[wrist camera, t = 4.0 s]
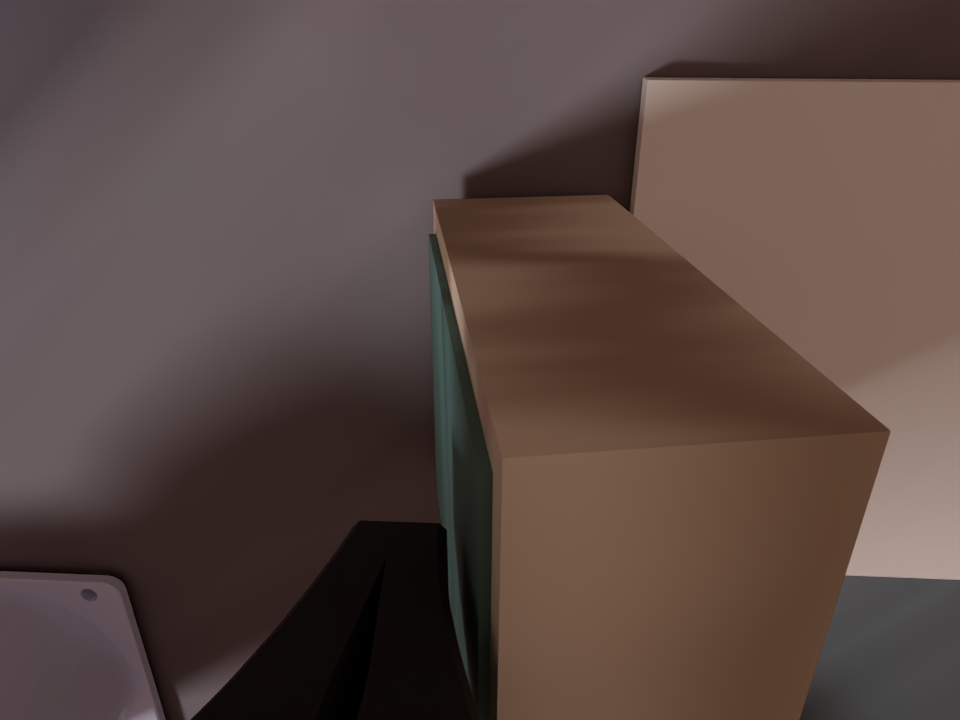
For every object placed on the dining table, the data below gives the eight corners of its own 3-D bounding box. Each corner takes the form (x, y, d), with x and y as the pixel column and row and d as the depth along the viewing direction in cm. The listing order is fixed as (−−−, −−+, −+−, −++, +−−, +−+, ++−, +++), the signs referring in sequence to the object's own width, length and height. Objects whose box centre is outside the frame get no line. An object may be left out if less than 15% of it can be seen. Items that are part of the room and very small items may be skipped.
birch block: (435, 491, 19) (482, 911, 10) (426, 199, 16) (487, 459, 7) (583, 480, 20) (751, 872, 11) (608, 195, 16) (890, 431, 7)
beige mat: (595, 551, 21) (597, 565, 20) (643, 77, 15) (647, 80, 14) (980, 565, 20) (992, 580, 20) (1187, 81, 14) (1213, 84, 14)
